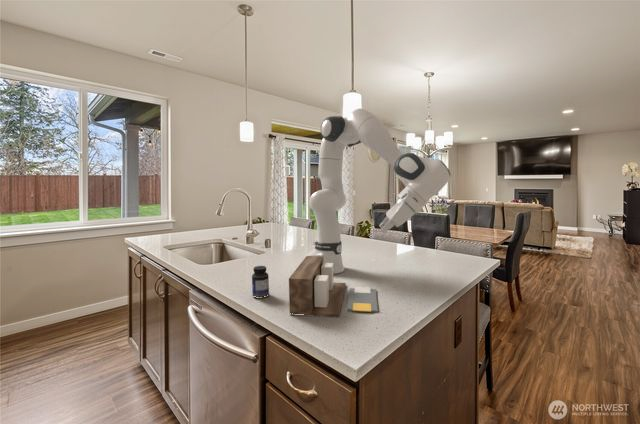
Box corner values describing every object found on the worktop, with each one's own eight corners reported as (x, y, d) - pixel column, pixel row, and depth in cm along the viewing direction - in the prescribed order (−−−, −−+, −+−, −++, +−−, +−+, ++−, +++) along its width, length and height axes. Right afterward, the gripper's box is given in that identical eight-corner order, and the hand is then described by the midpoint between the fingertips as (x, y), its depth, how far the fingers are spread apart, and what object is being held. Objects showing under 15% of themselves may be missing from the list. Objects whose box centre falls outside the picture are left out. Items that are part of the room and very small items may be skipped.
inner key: (333, 285, 121) (333, 263, 120) (331, 290, 115) (331, 267, 114) (323, 284, 122) (323, 262, 121) (321, 290, 116) (321, 267, 115)
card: (375, 289, 119) (375, 287, 119) (377, 313, 97) (377, 311, 97) (349, 288, 120) (349, 286, 120) (346, 312, 99) (346, 309, 99)
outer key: (328, 300, 106) (328, 275, 105) (326, 307, 100) (326, 280, 99) (317, 300, 106) (317, 274, 105) (314, 307, 100) (314, 280, 99)
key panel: (345, 285, 125) (345, 256, 123) (339, 317, 95) (338, 280, 94) (307, 283, 127) (306, 255, 126) (289, 314, 98) (288, 278, 96)
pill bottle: (253, 293, 117) (252, 265, 116) (269, 292, 118) (268, 264, 117) (251, 299, 111) (250, 270, 110) (268, 298, 112) (267, 269, 111)
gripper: (399, 193, 113) (373, 219, 115) (407, 195, 93) (375, 227, 95) (412, 205, 113) (385, 231, 115) (422, 210, 93) (390, 241, 95)
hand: (381, 229), depth 105 cm, fingers open, 8 cm apart
